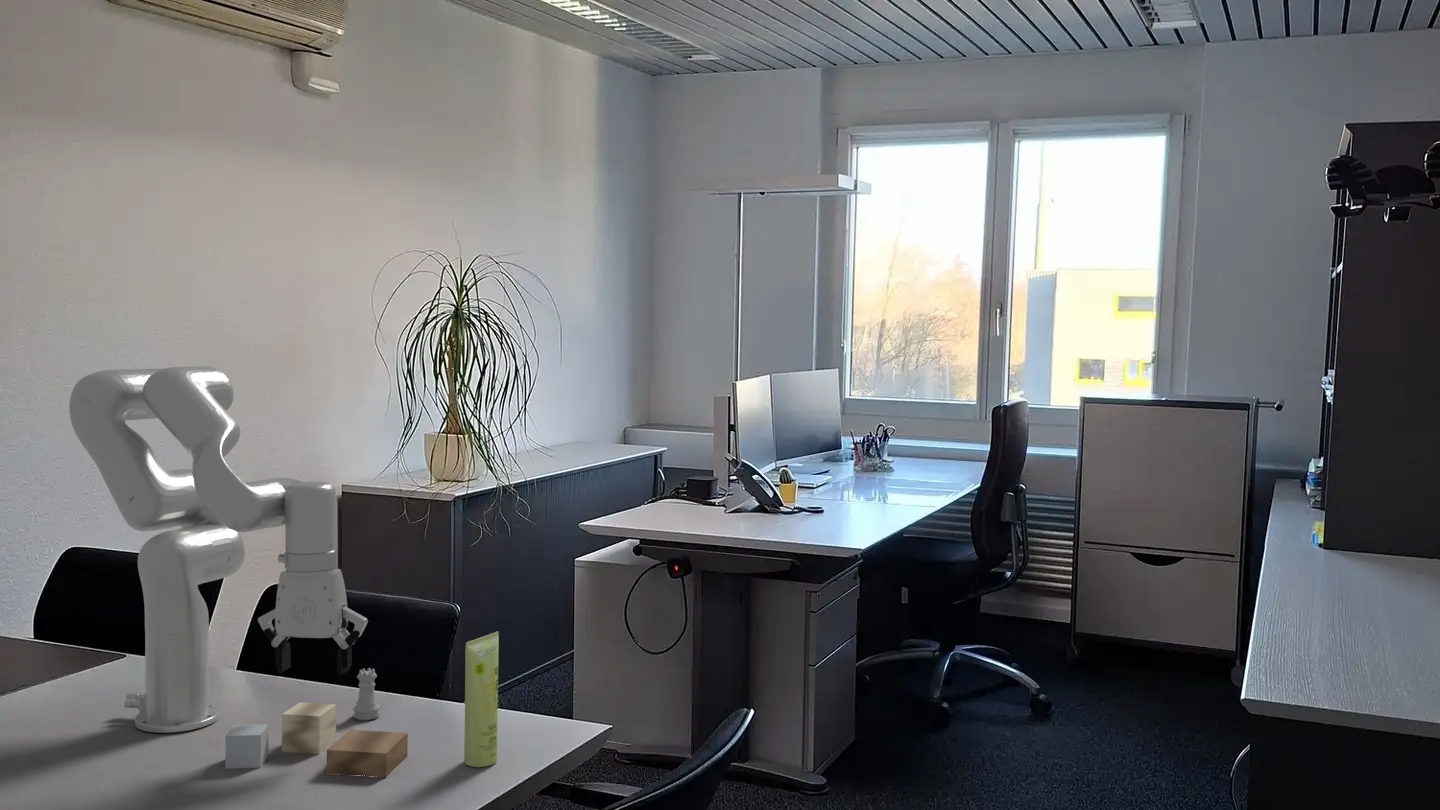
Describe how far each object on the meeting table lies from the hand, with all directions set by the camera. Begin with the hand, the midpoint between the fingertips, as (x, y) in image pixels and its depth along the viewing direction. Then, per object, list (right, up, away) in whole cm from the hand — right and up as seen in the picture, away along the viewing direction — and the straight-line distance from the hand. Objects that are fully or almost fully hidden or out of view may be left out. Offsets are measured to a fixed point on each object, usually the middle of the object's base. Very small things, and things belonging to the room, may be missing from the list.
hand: (313, 671), depth 187 cm
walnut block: (+10, -13, -6) cm, 18 cm away
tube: (+27, -13, -4) cm, 30 cm away
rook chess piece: (+4, -11, +16) cm, 20 cm away
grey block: (-8, -12, -6) cm, 16 cm away
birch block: (-1, -12, +1) cm, 12 cm away
